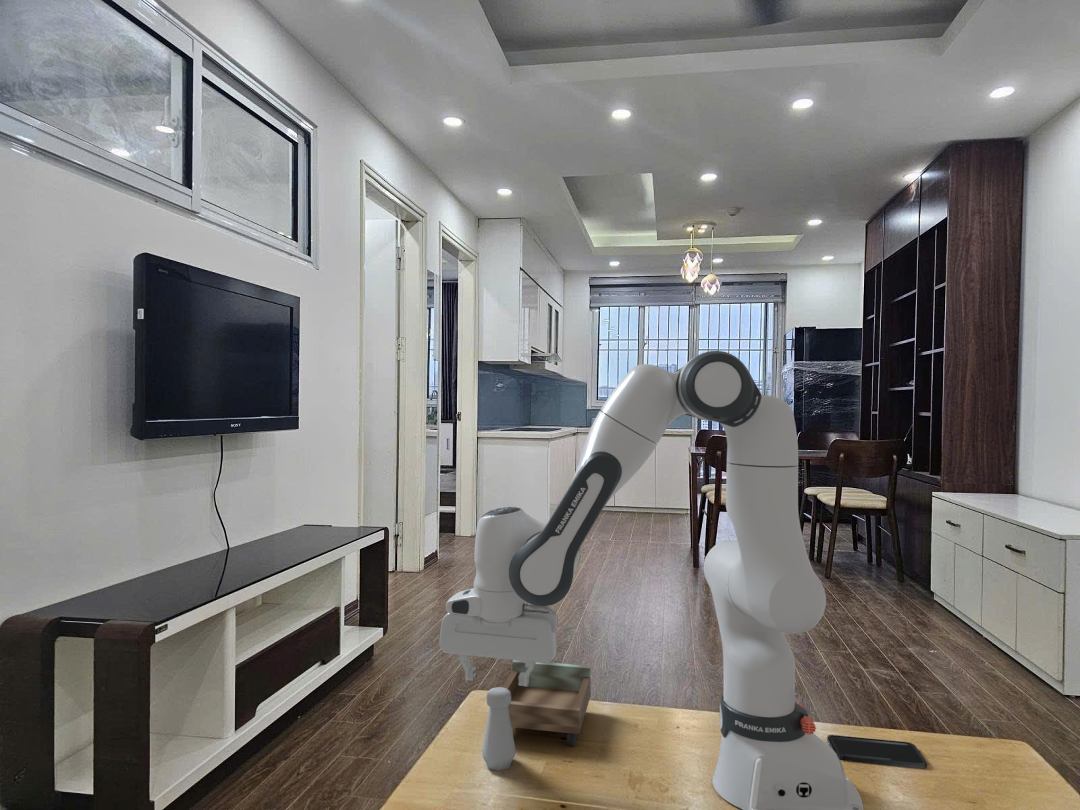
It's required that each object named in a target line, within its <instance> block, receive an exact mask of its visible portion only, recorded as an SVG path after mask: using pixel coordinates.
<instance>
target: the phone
mask: <svg viewBox="0 0 1080 810" xmlns="http://www.w3.org/2000/svg"><path fill="white" fill-rule="evenodd" d="M826 741H828V742H827V744H828V743H829V744H828V745H829V746H830V747H831V748H832V749H833V750H834V752H835V753H836V754H837V756H838V758H839V760H840V761H841V762H851V763H853V762H854V763H860V762H862V764H871V765H872V764H873V765H881V766H882V765H883V766H890V767H900V768H909V769H920V770H925V769H927V768H928V761H927V760H926V759H925V757H924V756H923V754H921V752H920V750H919V748H918V747H917V746H916V745H915V744H913V743H912V742H908V741H898V740H889V739H878V738H877V739H876V738H867V737H859V736H858V737H856V736H847V735H838V734H837V735H836V734H828V735H827V737H826Z"/></svg>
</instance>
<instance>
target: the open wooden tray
mask: <svg viewBox="0 0 1080 810" xmlns="http://www.w3.org/2000/svg"><path fill="white" fill-rule="evenodd" d="M511 666H512V669H511V672H510V673H509V676H508V677H507V679H506V680H505V682H504V683H503V685H502V687H503V688H506V689H508V690H509V691H510V692H511V703H510V705H509V706H508V710H509V715H510V721H511V727H512V728H516V729H527V730H536V731H543V732H544V731H545V732H546V731H547V732H554V733H555V732H556V733H563V734H566V745H567V746H573V747H574V746H576V744H577V735H580V734H581V729H582V726H583V723H584V719H585V717H586V713H587V710H588V706H589V703H590V699H591V693H592V692H591V691H592V690H591V688H592V687H591V686H592V684H591V681H592V680H591V678H592V676H591V675H592V671H591V670H592V669H591V668H592V667H591V665H583V664H582V665H581V664H572V663H571V664H570V663H561V662H559V663H557V662H550V663H538V662H536V664H535V666H534V668H533V669H532V671H531V672H530V674H529V684H528V686H527V687H525V686H519V685H518V683H519V675H520V673H521V672H524V673H525V672H526V671H527V669H528V668H529V667H525V661H518V660H512V665H511Z"/></svg>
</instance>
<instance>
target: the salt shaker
mask: <svg viewBox="0 0 1080 810" xmlns="http://www.w3.org/2000/svg"><path fill="white" fill-rule="evenodd" d="M485 697H486V704H487V706H488V713H487V720H486V723H485V724H486V725H485V731H484V737H483V744H482V749H481V752H482V758H483V760H484V762H485V764H486V766H487V768H488V770H493V771H498V772H499V771H503V770H506V769H509V768H510V767H511V764H512V762H513V761H514V758H515V756H516V746H515V745H516V744H515V739H514V734H513V727H511V721H510V715H509V710H508V706H509V705H510V703H511V692H510V691H509V690H508V689H506V688H503V686H498V687H493V688H490V689H489V690H488V691H487V692H486V696H485Z"/></svg>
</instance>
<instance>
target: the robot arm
mask: <svg viewBox="0 0 1080 810" xmlns="http://www.w3.org/2000/svg"><path fill="white" fill-rule="evenodd" d="M683 415H685V416H689V417H693V418H696V419H699V420H702V421H706V422H715V423H718V424H720V425H721V426H722V428H723V430H724V433H725V436H726V437H725V438H726V445H727V448H726V480H725V481H726V484H725V485H726V487H725V508H726V514H727V516H728V517H729V519H730V522H731V524H732V526H733V528H734V531H735V537H736V540H724V541H721V542H719V543H717V544H715V545H714V546H713V547H712V548H710V549H709V551H708V553H707V554H706V556H705V559H704V562H703V575H704V578H705V580H706V583H707V585H708V586H709V589H710V593H711V595H712V596H711V597H712V598H713V604H714V609H715V613H716V619H717V622H718V623H717V624H718V629H719V634H720V638H721V639H720V640H721V645H722V657H723V659H722V661H723V663H722V664H723V666H722V667H723V670H722V671H723V677H722V678H723V685H722V686H723V693H722V694H721V696H720V704H719V729H720V733H721V735H720V736H721V739H720V746H719V752H718V758H717V762H716V766H715V769H714V770H715V771H714V773H713V776H712V782H711V783H712V785H713V788H714V790H715V791H716V792H717V794H718V795H719V796H721V798H723V800H725V801H726V802H728V803H729V804H730V805H733V806H735V807H737V808H739V809H741V810H864V804H863V801H862V797H861V795H860V793H859V791H858V789H857V788H856V786H855V784H854V783H853V782H852V781H851V780H850V778H848V777H847V776H846V772H845V770H844V767H843V764H842V760H839V758H838V756H837V754H836V753H835V752H834V750H833V749H832V748H831V747H830V746H829V744H828V742H827V743H826V741H824V740H823V739H821V737H819V736H818V735H817V734H816V733H815V732H816V729H817V727H816V724H815V722H814V720H813V718H811V717H809V713H808V711H807V709H805V708H804V706H803V705H802V703H801V702H800V701H797V702H798V703H797V702H796V688H795V687H796V660H795V656H794V652H793V650H792V648H791V647H790V645H789V643H788V641H787V638H786V635H785V633H786V634H791V635H792V634H794V635H797V634H803V633H806V632H809V631H810V630H811V629H813V628H815V627H816V626H817V625H818V623H819V622H820V621H821V620H822V617H823V615H824V613H825V610H826V607H827V596H826V591H825V587H824V586H823V583H822V581H821V580H820V578H818V576H817V574H816V572H815V571H814V569H813V567H812V564H811V562H810V558H809V555H808V552H807V548H806V544H805V541H804V537H803V532H802V528H801V523H800V517H799V442H798V433H797V426H796V421H795V415H794V411H793V409H792V407H791V405H790V404H789V403H788V402H787V401H785V400H783V399H781V398H779V397H776V396H773V395H769V394H762V392H761V391H760V389H759V387H758V386H757V384H756V382H755V380H754V378H753V377H752V375H751V373H750V371H749V369H748V368H747V366H746V365H745V363H743V362H742V360H740V359H739V357H737V356H736V355H733V354H731V353H729V352H727V351H723V350H722V351H721V350H711V351H709V350H708V351H706V352H702V353H700V354H698V355H696V356H694V357H692V358H691V359H690V360H688V361H687V362H686V363H685V365H683V366H682V367H681V368H679V369H677V370H675V371H668V370H665V369H664V368H662V367H661V366H657V365H654V364H650V363H649V364H648V363H642V364H637V365H635V366H634V367H632V368H630V370H629V371H627V373H626V374H625V375H624V376H623V378H622V379H621V380H620V381H619V383H618V384H617V385H616V386H615V388H614V389H613V391H611V393H610V394H609V396H608V397H607V399H606V400H605V402H604V403H603V405H602V407H601V408H600V410H599V412H598V414H597V415H596V416H595V419H594V421H593V423H592V424H591V427H590V429H589V431H588V433H587V436H586V439H585V441H584V443H583V447H582V450H581V453H580V458H579V460H578V463H577V467H576V470H575V472H574V476H573V478H572V480H571V482H570V484H569V486H568V489H567V490H566V492H565V493H564V495H563V497H562V499H561V500H560V502H559V504H558V505H557V506H556V508H555V510H554V512H553V513H552V515H551V517H550V518H549V520H548V522H547V523H543V522H541V521H539V520H537V519H535V518H533V517H532V516H531V515H529V514H527V512H526V511H524V510H523V508H520V507H517V506H507V507H499V508H496V509H492V510H489V511H487V512H485V513H484V514H482V516H481V517H480V518H479V519H478V522H477V525H476V530H475V540H474V557H473V561H474V564H475V569H476V572H475V577H474V579H473V588H469V589H464V590H461V591H458V592H457V593H455V594H453V595H452V596H451V597H450V598H449V599H448V600H447V602H446V603H445V610H446V614H444V616H443V618H442V620H441V626H440V631H439V641H438V642H439V648H440V650H441V651H442V653H444V654H452V655H453V654H454V655H459V659H458V660H459V663H460V664H461V666H462V668H463V670H464V671H465V673H464V674H465V675H464V676H465V677H464V680H465V681H475V679H476V678H477V673H476V672H477V667H475V666H472V663H471V662H470V657H471V656H472V657H480V658H481V657H482V658H490V659H500V660H509V661H510V660H511V661H513V660H518V661H525V667H529V668H528V669H527V671H526V672H525V673H524V672H521V673H520V675H519V683H518V685H519V686H525V687H527V686H528V684H529V674H530V672H531V671H532V669H533V668H534V666H535V664H536V662H538V663H552V661H553V660H554V659H555V657H556V655H557V636H556V635H557V634H556V631H558V628H559V617H558V614H557V612H556V610H554V609H553V608H551V607H550V606H553V605H556V604H558V603H559V602H560V601H562V600H563V599H564V598H566V596H567V595H568V593H569V592H570V589H571V587H572V585H573V584H572V583H573V579H574V576H575V574H576V571H577V569H578V567H579V564H580V561H581V547H582V545H583V543H584V541H585V540H586V538H587V536H588V535H589V533H590V531H591V529H592V528H593V526H594V525H595V523H596V521H597V519H598V517H599V516H600V515H601V512H602V511H603V510H604V508H605V506H607V504H608V503H609V502H610V500H611V499H612V498H613V497H614V496H615V495H616V494H617V493H618V492H619V491H620V490H621V488H622V487H624V486H625V485H626V484H627V483H629V481H630V480H631V479H632V478H633V477H634V476H635V475H636V473H637V472H638V471H639V470H640V469H641V468H642V466H644V464H645V463H646V462H647V460H648V459H649V457H651V455H652V453H653V452H654V451H655V449H656V447H657V445H658V444H659V442H660V441H661V439H662V437H663V435H664V433H666V431H667V428H668V427H669V426H670V425H671V424H672V422H673V421H674V420H675V419H677V418H678V417H680V416H683ZM525 602H526V603H525Z"/></svg>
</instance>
